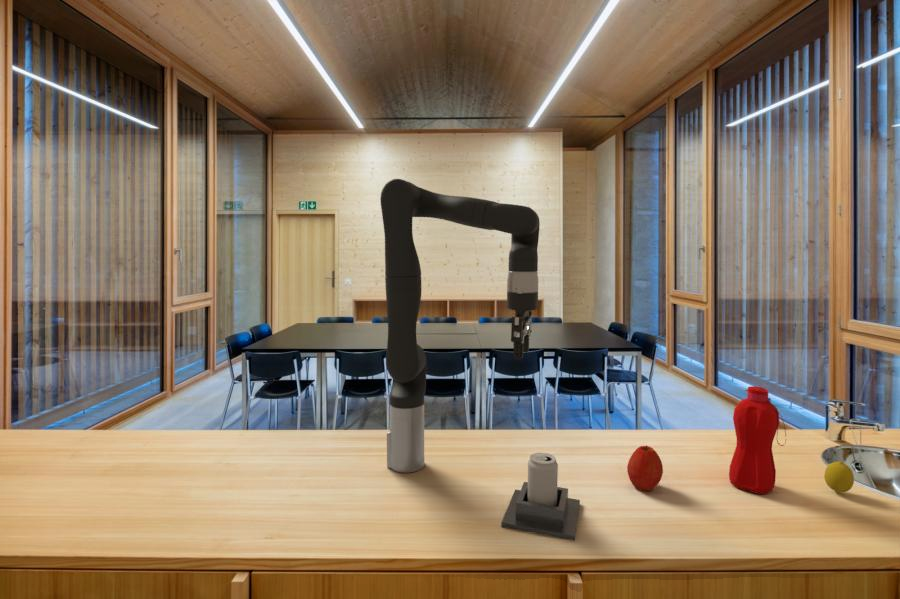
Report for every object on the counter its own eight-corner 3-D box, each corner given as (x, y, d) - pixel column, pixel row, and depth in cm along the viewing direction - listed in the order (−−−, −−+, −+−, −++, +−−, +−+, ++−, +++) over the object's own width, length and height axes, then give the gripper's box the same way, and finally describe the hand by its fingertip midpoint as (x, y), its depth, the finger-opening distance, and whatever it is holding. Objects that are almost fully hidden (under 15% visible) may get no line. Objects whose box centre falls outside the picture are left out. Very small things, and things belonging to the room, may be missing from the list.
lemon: (846, 489, 120) (849, 458, 119) (856, 500, 114) (859, 468, 114) (819, 486, 121) (822, 455, 121) (828, 496, 116) (831, 464, 115)
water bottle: (778, 502, 114) (786, 397, 111) (725, 486, 121) (731, 387, 119) (785, 487, 121) (792, 388, 118) (734, 474, 128) (741, 380, 125)
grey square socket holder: (501, 526, 103) (501, 506, 103) (515, 493, 117) (515, 475, 117) (574, 540, 98) (575, 519, 98) (579, 504, 112) (580, 485, 112)
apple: (666, 497, 116) (668, 453, 115) (629, 493, 117) (631, 450, 116) (657, 481, 124) (660, 440, 123) (623, 478, 125) (625, 437, 124)
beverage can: (556, 519, 104) (558, 465, 103) (526, 515, 106) (527, 462, 104) (556, 504, 110) (558, 452, 109) (527, 500, 112) (528, 450, 111)
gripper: (513, 287, 127) (512, 348, 129) (501, 291, 114) (500, 360, 116) (542, 288, 125) (540, 350, 127) (533, 292, 112) (531, 362, 113)
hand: (521, 355), depth 121 cm, fingers open, 8 cm apart
